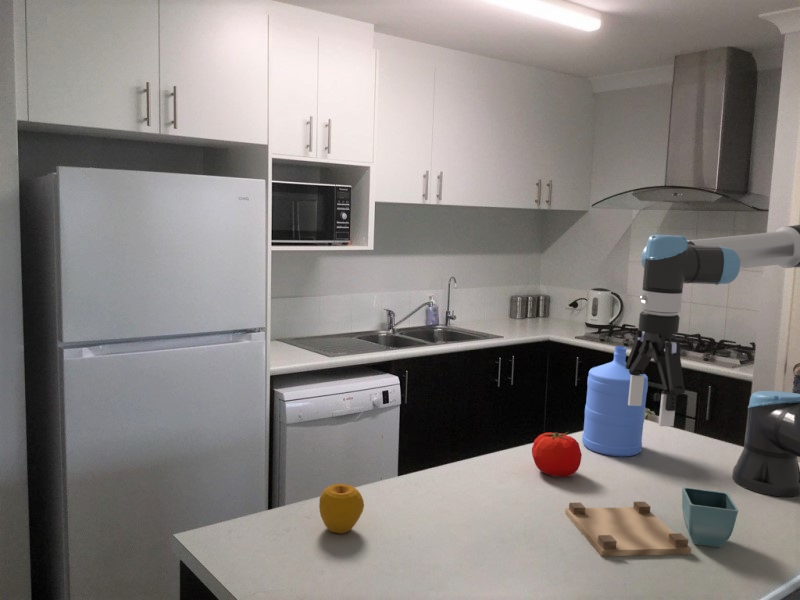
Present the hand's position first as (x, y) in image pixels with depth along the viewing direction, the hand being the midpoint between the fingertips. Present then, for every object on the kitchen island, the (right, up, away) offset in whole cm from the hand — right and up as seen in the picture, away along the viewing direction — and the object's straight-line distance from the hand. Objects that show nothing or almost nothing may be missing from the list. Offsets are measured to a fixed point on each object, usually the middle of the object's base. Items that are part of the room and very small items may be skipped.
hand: (649, 415), depth 143 cm
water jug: (+7, -17, +49) cm, 53 cm away
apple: (-63, -21, -6) cm, 66 cm away
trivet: (-6, -23, -2) cm, 24 cm away
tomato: (-13, -19, +28) cm, 36 cm away
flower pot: (+10, -25, -3) cm, 27 cm away
